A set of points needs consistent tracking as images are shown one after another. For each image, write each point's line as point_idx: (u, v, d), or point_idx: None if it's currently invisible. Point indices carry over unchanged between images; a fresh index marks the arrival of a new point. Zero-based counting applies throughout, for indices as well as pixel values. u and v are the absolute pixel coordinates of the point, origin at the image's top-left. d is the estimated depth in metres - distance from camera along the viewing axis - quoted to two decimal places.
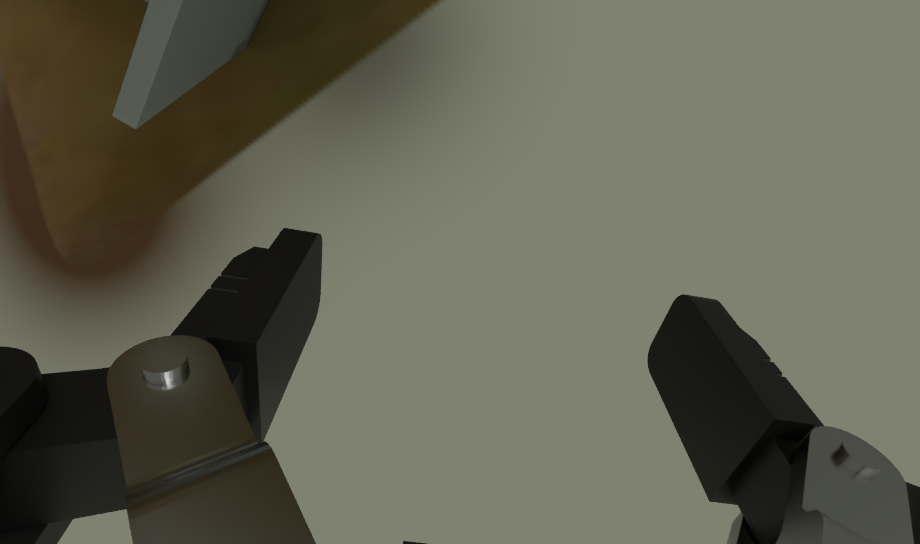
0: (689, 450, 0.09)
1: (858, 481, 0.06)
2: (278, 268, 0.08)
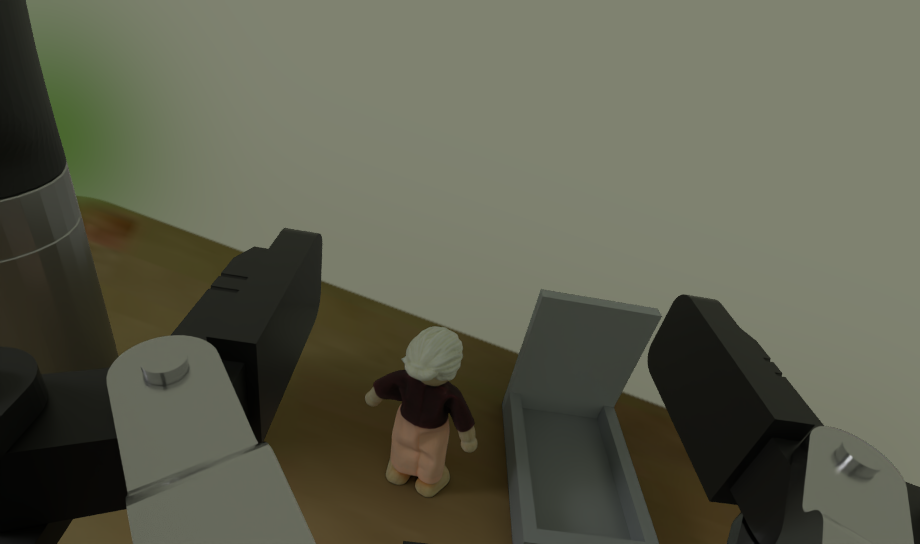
0: (689, 450, 0.09)
1: (858, 481, 0.06)
2: (278, 268, 0.08)
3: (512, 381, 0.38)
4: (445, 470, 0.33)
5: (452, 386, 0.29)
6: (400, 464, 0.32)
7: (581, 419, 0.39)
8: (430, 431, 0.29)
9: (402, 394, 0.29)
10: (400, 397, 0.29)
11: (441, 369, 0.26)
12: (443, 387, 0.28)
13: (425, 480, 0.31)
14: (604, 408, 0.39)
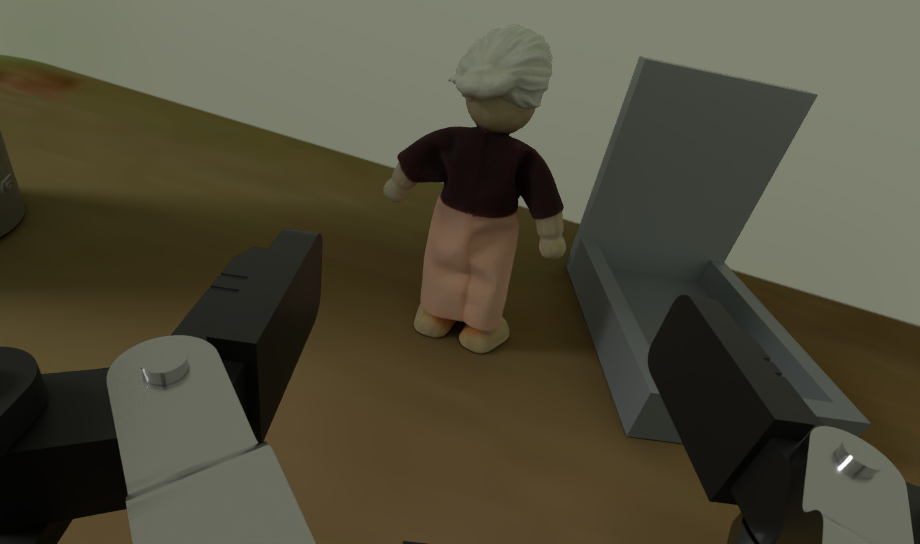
0: (689, 449, 0.09)
1: (858, 481, 0.06)
2: (278, 268, 0.08)
3: (585, 221, 0.27)
4: (503, 320, 0.22)
5: None
6: (437, 301, 0.21)
7: (678, 281, 0.28)
8: (490, 226, 0.18)
9: (446, 159, 0.18)
10: (441, 174, 0.18)
11: (521, 71, 0.15)
12: (515, 139, 0.17)
13: (477, 324, 0.20)
14: (711, 261, 0.28)
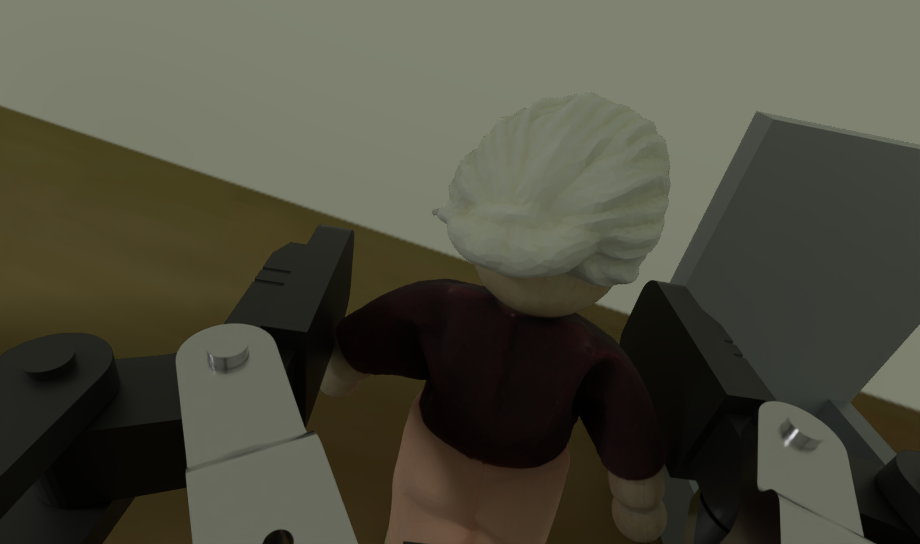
0: None
1: (800, 451, 0.07)
2: (319, 262, 0.09)
3: None
4: None
5: (596, 327, 0.09)
6: None
7: None
8: (518, 475, 0.09)
9: (430, 354, 0.09)
10: (421, 367, 0.09)
11: (613, 222, 0.06)
12: (576, 326, 0.08)
13: None
14: (833, 403, 0.19)
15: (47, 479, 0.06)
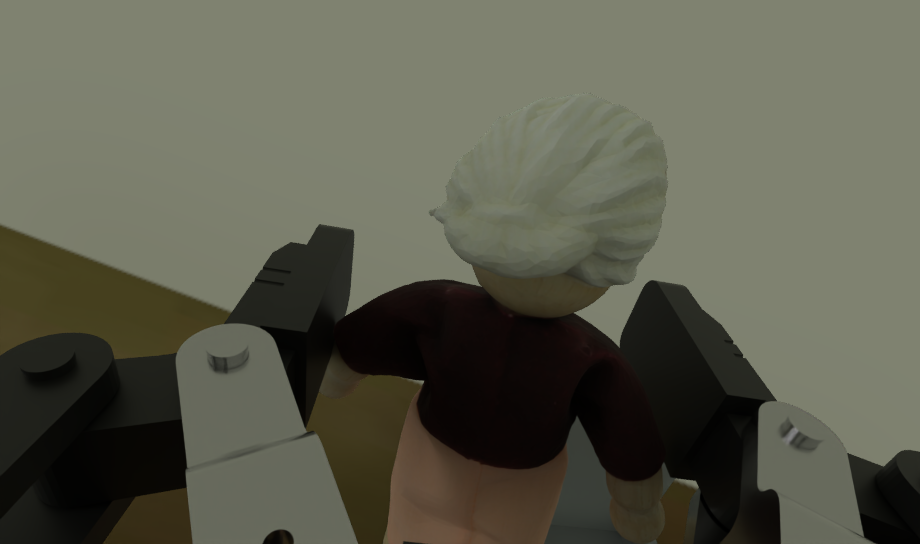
0: None
1: (800, 450, 0.07)
2: (319, 262, 0.09)
3: None
4: None
5: (594, 327, 0.09)
6: None
7: (596, 535, 0.24)
8: (515, 476, 0.09)
9: (427, 355, 0.09)
10: (418, 368, 0.09)
11: (610, 223, 0.06)
12: (573, 326, 0.08)
13: None
14: None
15: (47, 479, 0.06)
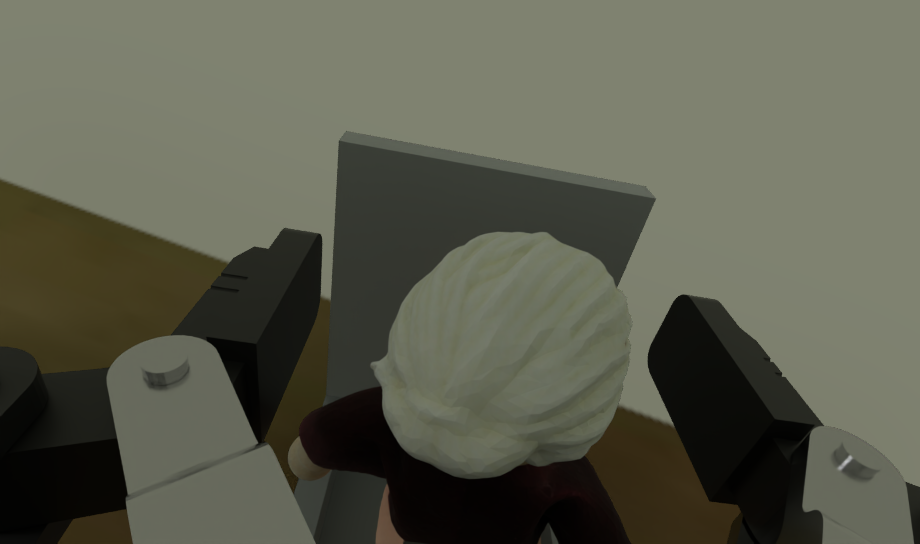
0: (689, 450, 0.09)
1: (858, 481, 0.06)
2: (278, 268, 0.08)
3: None
4: None
5: None
6: None
7: None
8: None
9: (388, 473, 0.08)
10: None
11: (552, 430, 0.05)
12: None
13: None
14: None
15: None
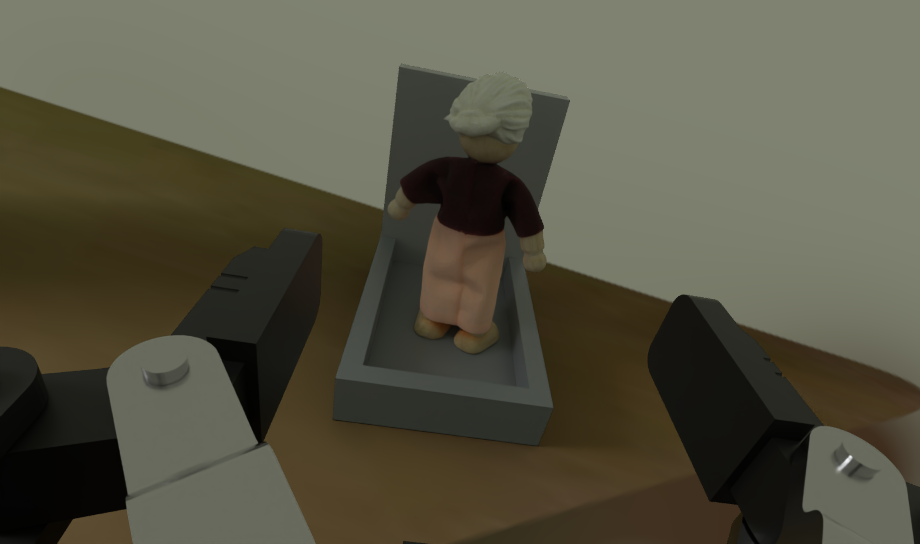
0: (689, 450, 0.09)
1: (858, 481, 0.06)
2: (278, 268, 0.08)
3: (383, 219, 0.28)
4: (493, 324, 0.25)
5: (512, 173, 0.20)
6: (434, 307, 0.23)
7: None
8: (480, 242, 0.21)
9: (442, 184, 0.20)
10: (438, 197, 0.21)
11: (504, 114, 0.18)
12: (501, 168, 0.20)
13: (469, 328, 0.23)
14: (509, 258, 0.29)
15: None
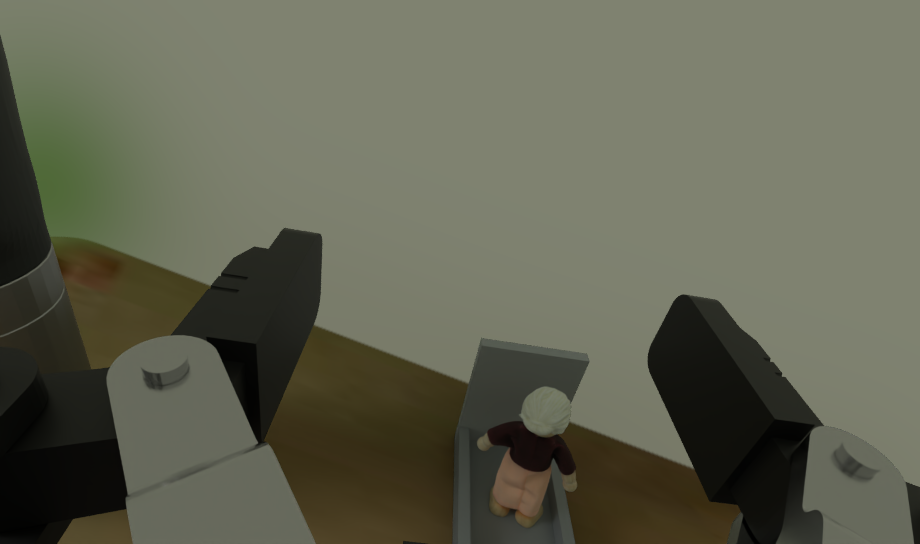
0: (689, 450, 0.09)
1: (858, 481, 0.06)
2: (278, 268, 0.08)
3: (461, 417, 0.42)
4: None
5: (557, 436, 0.34)
6: (504, 499, 0.37)
7: None
8: (537, 473, 0.34)
9: (515, 443, 0.34)
10: (511, 444, 0.35)
11: (557, 426, 0.31)
12: (551, 437, 0.33)
13: (526, 513, 0.37)
14: None
15: None
